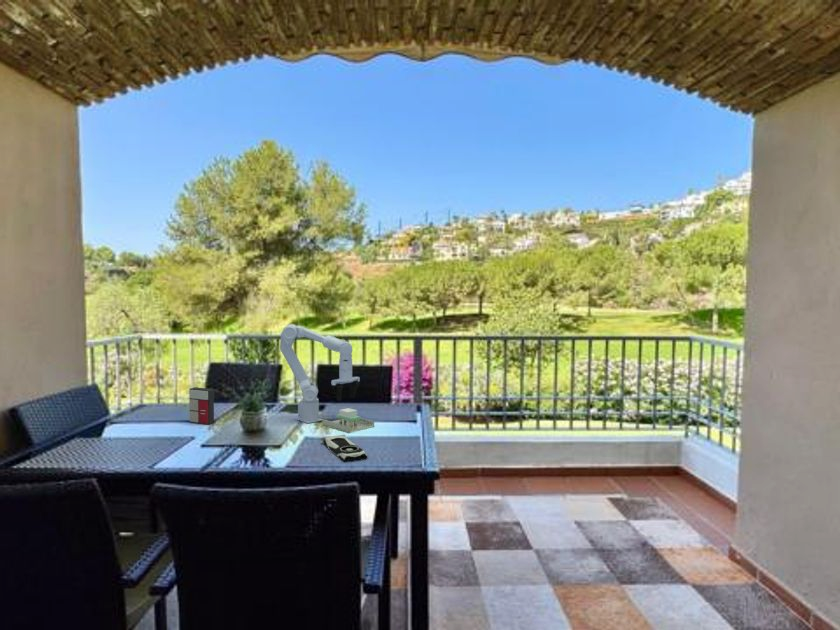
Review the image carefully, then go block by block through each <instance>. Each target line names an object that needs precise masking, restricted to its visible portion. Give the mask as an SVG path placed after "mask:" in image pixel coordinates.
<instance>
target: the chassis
mask: <svg viewBox="0 0 840 630" xmlns="http://www.w3.org/2000/svg"><path fill="white" fill-rule="evenodd" d="M322 419H323V420H322V421H321V422H322V423H321V425H322V426H325V427H327V428H331V429H334V430H337V431H340V432H343V433H347V434H349V433H354V432H355V433H356V432H358V431H362V430H367V429H371V427H372V428H374V427H375V421H373V420H371V419H367V418H363V417H360V420H355V421H347V420H344V419H340V418H338V419H337V420H328V419H324V418H322Z"/></svg>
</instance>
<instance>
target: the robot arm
mask: <svg viewBox="0 0 840 630" xmlns="http://www.w3.org/2000/svg"><path fill="white" fill-rule="evenodd" d="M297 338H298V339H300V338H308V339H310V340H313V341H315V342H318V343H321V344H322V347H324V348H326V349H328V350H330V351H334V352H336V353H339V363H338V365H339V367H338V369H339V374H338V376H339V378H337V379H332V380H331V382H330V383H331V387H332V390H333V391H334V394H335V397H336V400H337V401H338V402H340V401H342V395H343V393H342V392H343V388H344V384H348V386H349V387H348V388H349V396H350V397H349V398H350V399H355V396H356V394H357V390H358V389H359V386H360V381H361V380H360V378H361V377H360V376H353V354H352V353H353V345H352V344H351V343H350V342H349V341H347V340H344V339H340V338H337V337H335V335H333V334H331V335H330V334H328V335H325V336H324V335H323V334H320V333H318V332H316V331H313V330H311V329H309V328H307V327H305V326H302V325H297V324H294V323H290V324H287V325H286V326H285V327H284V328H283V329H282V331H281V333H280V339H279V340H280V341H279V350H280V352H281V353H282V355H283V357H284V359H285V361H286V363H287V365H288V366H289V368H290V369H291V370H290V371H291V372H292V373H293V376H294V377H295V379H296V381H297V382H298V384H299V388H300V391H301V393H302V399H301V400H300V401H299V402H298V405H297V418H296V419H298V420H297V421H299V420H300V422H303V423H306V424H312V423H316V422H320V421H321V422H322V420H323V419H324V418H320V415H319V414H320V413H319V412H320V409H319V408H320V407H319V406H320V403H319V402H320V401H319V398H318V394H319V389H318V386H317V385H316V384H314V383H313V382H312V380H311V379H310V378H309V376H308V373H306V370H305V368H304V367H303V365H302V364H301V361H300V360H299V358H298V356H297V355H296V353H295V351H294V349H293V345H294V342H295V339H297Z"/></svg>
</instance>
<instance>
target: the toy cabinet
mask: <svg viewBox="0 0 840 630" xmlns="http://www.w3.org/2000/svg"><path fill="white" fill-rule="evenodd" d="M188 392H189V396H188V397H189V400H188V401H189V402H188V403H189V408H188V409H189V423H195V424H201V425H212V424H214V423H215V401H214V400H215V392H216V390H215V389H214V388H206V387H198V386H197V387H191V388H189V390H188Z"/></svg>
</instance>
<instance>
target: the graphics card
mask: <svg viewBox="0 0 840 630" xmlns="http://www.w3.org/2000/svg"><path fill="white" fill-rule="evenodd" d="M320 441H322V442H320V446H321V445H322V444H323V445H324V446H325V448H327V449H328V450H329V451H330V450H331V451H332V452H333V453H334V454H333V453H332V452H331V451H330V452H331V453H332V454H333V455H334V456H336V457H337V458H338V457H339V458H340V459H339V458H338V459H339V460H340V461H342V463H348V462H347V461H351V462H355V461H354V460H358V461H362V460H361V459H364V460H367V459H368V454H367V453H366V452H365V451H364V449H362V448H361V447H359V446H358V445H357V444H355V443H354V442H352V441H351V440H350V439H348V437H347V436H346V435H345V434H339V435H333V436H325V437H321V438H320ZM366 458H367V459H366Z"/></svg>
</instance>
